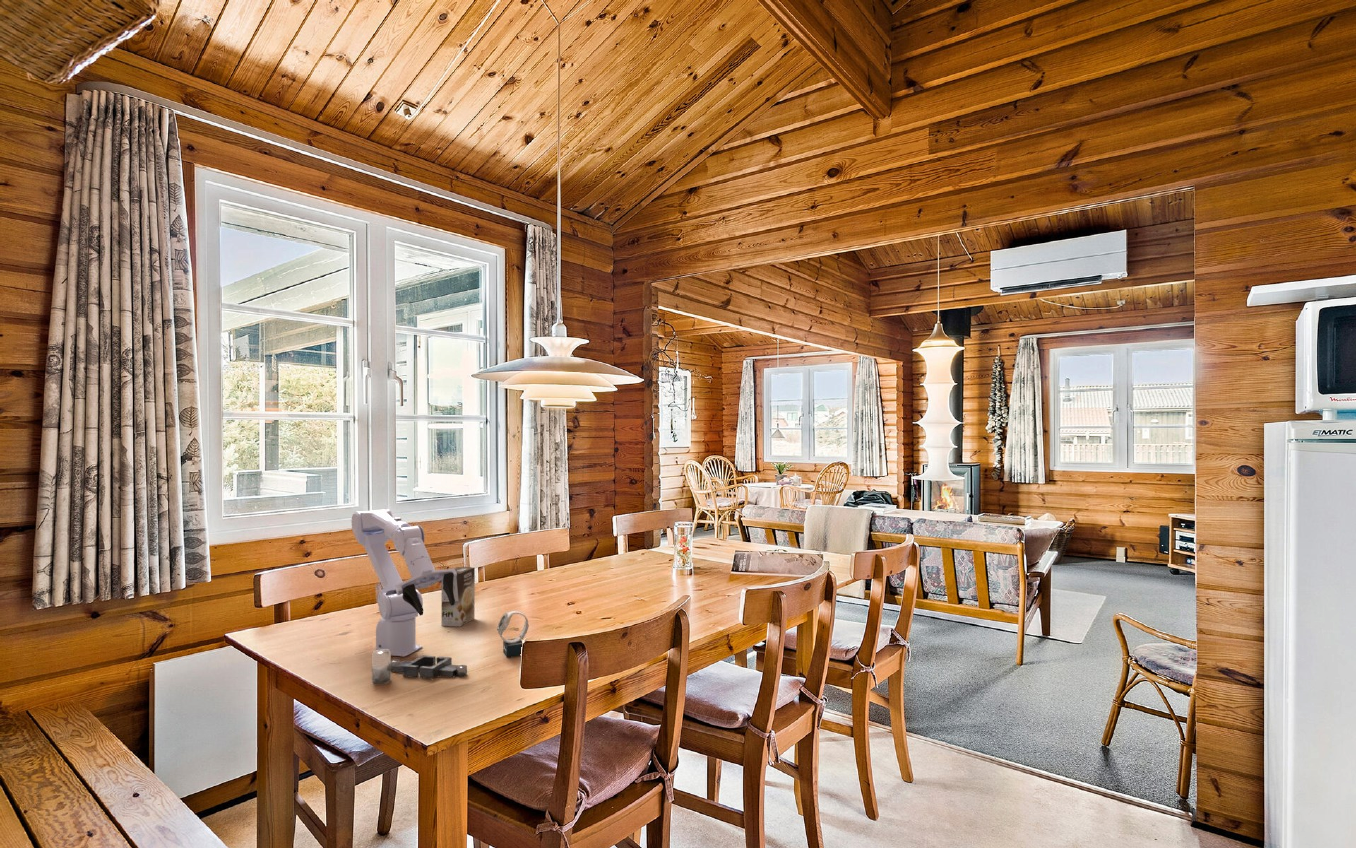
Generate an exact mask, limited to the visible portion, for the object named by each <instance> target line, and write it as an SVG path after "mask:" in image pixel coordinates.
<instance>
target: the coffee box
mask: <svg viewBox="0 0 1356 848" xmlns="http://www.w3.org/2000/svg"><path fill="white" fill-rule="evenodd" d="M454 568H455V571H456V573H457V576H456V578H455V579H453V593H454V598H455V604H454V605H452V606H451V604H450V602H449V599H448V596H447V594H446V593H445V591H444V590H443V581H441V613H440V614H441V615H440V616H441V620H440V621H441V622H440V623H441V626H442V627H443V626H446V627H457V626H459V627H462V626H463V624H464V625H465V624H467V623H470V622H471V621H473V620H474V619H475V618H476V617H475V613H476V612H475V611H476V610H475V603H476V601H475V599H476V598H475V593H476V592H475V591H476V590H475V589H476V588H475V587H476V584H475V582H476V581H475V580H476V579H475V578H476V576H475V574H476V571H475V569H476V567H469V566H467V567H466V566H456V567H454Z"/></svg>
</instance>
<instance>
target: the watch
mask: <svg viewBox="0 0 1356 848" xmlns="http://www.w3.org/2000/svg"><path fill="white" fill-rule="evenodd" d="M513 615H520V616H522V617H523V618H524V620H525V621H524V624H523V627H522V630H521V631H520V633H519V636H518V637H516V638H508V639H507V638H505V637H503V636H502V635H503V633H504V632H505V631H506V630H507V628H508V626H509V625H510V622H511V618H512V617H513ZM529 626H530V625H529V620H528V618H527V616H526V615H525V614H524V613H523V612H521V611H520V610H510V611H508V612H505V613H504V614H503V615H502V616H501V618H500V619H499V621H498V625H497V627H496V630H497V632H498V635H499V637H500V638H501V640H502V645H503V646H502V647H503V648H502V652H503V654H504V656H505V657H506V659H510V658H516V657H517V658H518V657H521V656H520V654H521V647H522V642H523V641H522V640H523V639H524V638H525V636H526V634H527V633H528V630H529Z"/></svg>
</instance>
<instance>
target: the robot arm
mask: <svg viewBox="0 0 1356 848" xmlns="http://www.w3.org/2000/svg"><path fill="white" fill-rule="evenodd" d="M351 530H352V533H353V535H354V537H355V540H356V541H357V543H358V544H359V545H361V546H363V548H364V549H365V552H366V554H367V557H368V559H369V561H370V563H371V565H372V567H373V570H374V572H375V573H376V576H377V579H378V580H379V583H380V585H381V587H382V588H381V590H380V591H379V592H378V595H377V601H376V603H377V605H378V611H379V614H380V617H381V618H380V619H379V621H378V622H377V625H376V627H375V628H376V629H375V651H376V650H380V649H389V650H391V656H392V657H407V656H409V655H411V654H412V653H413V654H414V653H415V652H416V651H418V650H420V649H422V648H423V645H420V644H417V643H416V642H417V641H416V636H417V635H416V618H417V617H419V616H423V615H424V608H423V606H424V605H423V603H424V602H423V596H422V594H421V592H420V591H419V590H421V589H426V588H429V587H431V586H433V585H435V584H437V583H439V582H442V581H443V590H444V591H445V593H446V594H447V596H448V599H449V602H450V604H451V606H452V605H454V604H455V598H454V593H453V579H455V578H456V576H457V573H456V571H455V568H456V567H454V568H453V567H452V568H449V569H436V568H435V566H434V564H433V562H432V559H431V557H430V554H429V552H428V550H427V547H426V545H425V537H426V536H425V531H424V529H423V527H422V525H420V524H417V525H413V526H412V525H411V524H409V523H408V522H407V521H405V520H403V519H402V517H400V516H396V517H394V518H393V513H392V511H391V509H389V508H384V509H373V510H363V511H362V510H361V511H359V510H356V511H354V513H353V514H352V515H351ZM390 540H391V541H392V542H393V546H394V549H395V550H396V551H397V552H398V553H399V555H400V556H402V557H403V559H404V563H405V564H406V567H407V569H408V571H409V572H408V573H409V575H410V577H411V578H408V579H406V580H404V581H403V579H402V577H401V575H400V574H399V572H398V569H397V567H396V565H395V563H394V561H393V559H392V557H391V555H390V553H389V551H388V549H387V547H386V545H385V544H387V542H388V541H390Z"/></svg>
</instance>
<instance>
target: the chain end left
mask: <svg viewBox="0 0 1356 848" xmlns="http://www.w3.org/2000/svg"><path fill="white" fill-rule="evenodd" d="M436 664H437V663H436V655H426V654H424V655H420V656H418V657H417V658H415V659H412V660H402V661H401V659H399V658H398V659H397V658H396V659H395V658H394V659H391V671H392V672H393V673H398V674H399V673H400V674H402V675H403V676H402V677H404V678H405V677H406V678H418V677H420V667H421V666H428V667H432V666H434V665H436Z"/></svg>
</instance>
